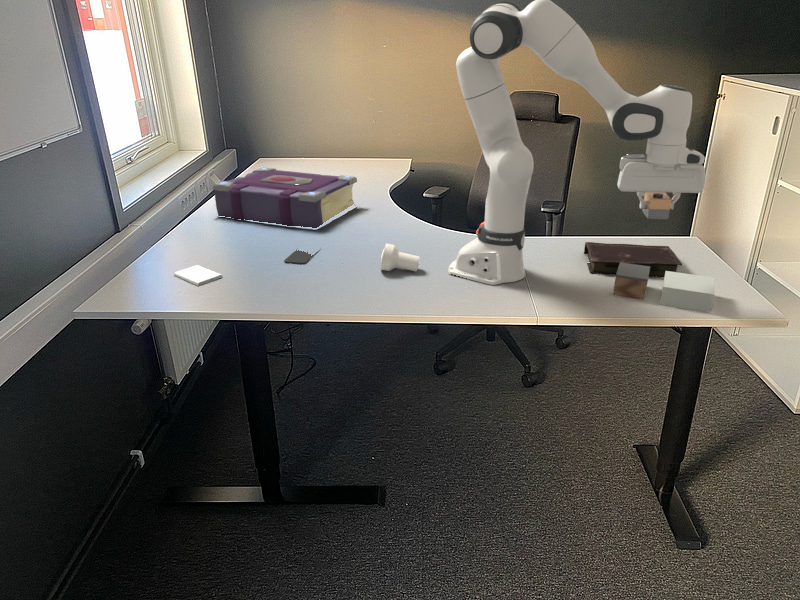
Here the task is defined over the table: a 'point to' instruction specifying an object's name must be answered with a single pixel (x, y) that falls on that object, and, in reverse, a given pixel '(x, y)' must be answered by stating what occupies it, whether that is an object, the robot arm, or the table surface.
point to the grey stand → (688, 291)
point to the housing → (657, 205)
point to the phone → (298, 257)
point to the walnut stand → (631, 281)
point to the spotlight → (397, 259)
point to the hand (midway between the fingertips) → (656, 208)
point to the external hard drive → (198, 275)
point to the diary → (630, 258)
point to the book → (284, 197)
